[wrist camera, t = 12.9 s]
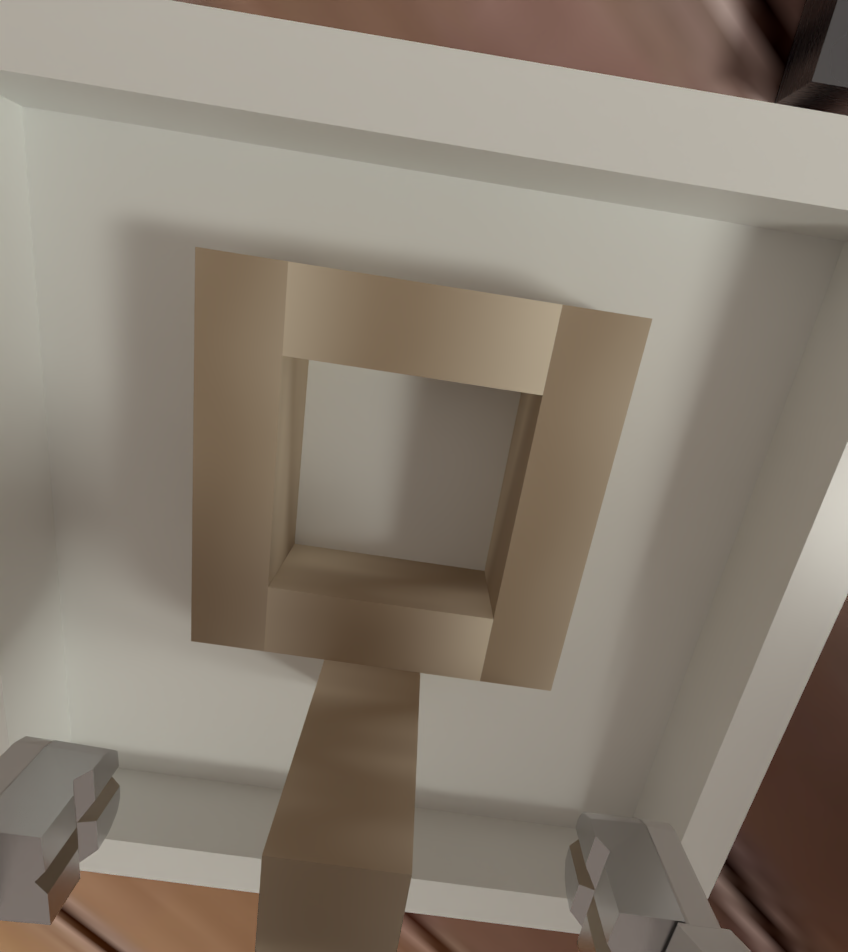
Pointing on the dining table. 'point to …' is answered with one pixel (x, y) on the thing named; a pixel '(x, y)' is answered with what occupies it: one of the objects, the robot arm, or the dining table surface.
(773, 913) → the dining table surface
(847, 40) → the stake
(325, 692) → the ring
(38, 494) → the tray
